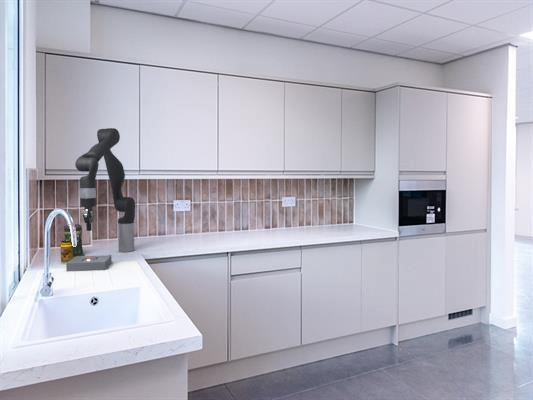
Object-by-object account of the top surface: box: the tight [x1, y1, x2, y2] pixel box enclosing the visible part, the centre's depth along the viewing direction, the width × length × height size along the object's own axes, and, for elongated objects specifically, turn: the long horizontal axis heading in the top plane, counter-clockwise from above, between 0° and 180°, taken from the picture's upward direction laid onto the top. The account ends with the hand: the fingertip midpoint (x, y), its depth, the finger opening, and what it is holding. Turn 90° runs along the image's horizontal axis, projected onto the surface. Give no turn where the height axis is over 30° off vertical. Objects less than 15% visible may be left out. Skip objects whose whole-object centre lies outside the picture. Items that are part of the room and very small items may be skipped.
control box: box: [65, 254, 112, 272], centre depth 205 cm, size 16×18×4 cm
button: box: [83, 257, 96, 261], centre depth 205 cm, size 6×6×4 cm
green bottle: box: [63, 223, 84, 258], centre depth 227 cm, size 10×8×19 cm
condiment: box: [58, 239, 73, 264], centre depth 215 cm, size 7×8×12 cm
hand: (89, 230), depth 203 cm, fingers closed
